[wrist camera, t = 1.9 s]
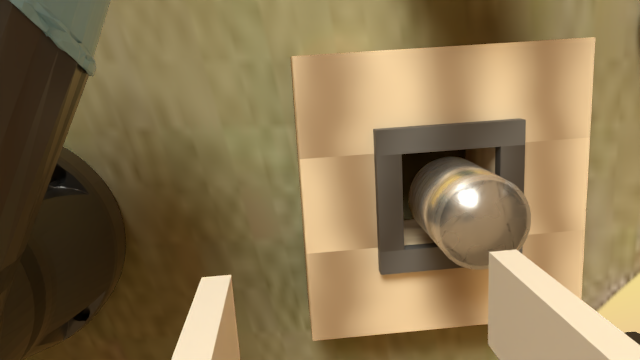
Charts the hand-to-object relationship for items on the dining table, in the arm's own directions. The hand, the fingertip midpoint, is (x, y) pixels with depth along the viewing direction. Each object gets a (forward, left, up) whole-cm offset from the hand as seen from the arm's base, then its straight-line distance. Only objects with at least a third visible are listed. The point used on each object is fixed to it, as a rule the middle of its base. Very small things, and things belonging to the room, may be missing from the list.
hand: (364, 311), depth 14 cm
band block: (+8, -2, -23) cm, 24 cm away
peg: (+8, -2, -18) cm, 20 cm away
